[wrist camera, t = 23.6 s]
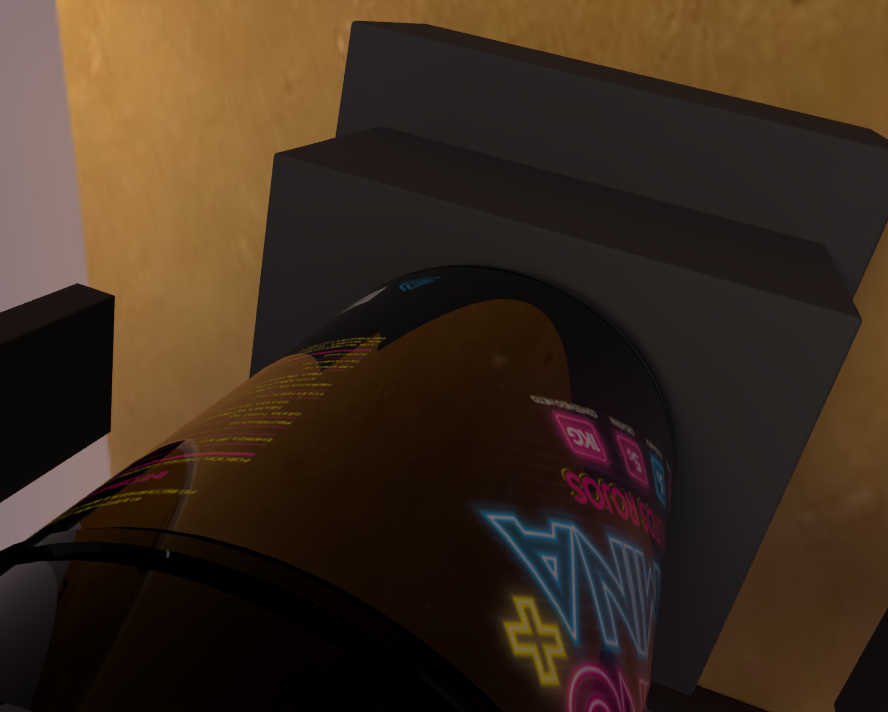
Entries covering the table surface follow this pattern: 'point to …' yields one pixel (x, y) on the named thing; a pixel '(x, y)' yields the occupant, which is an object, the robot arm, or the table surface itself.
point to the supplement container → (373, 526)
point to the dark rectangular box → (625, 133)
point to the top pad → (614, 296)
